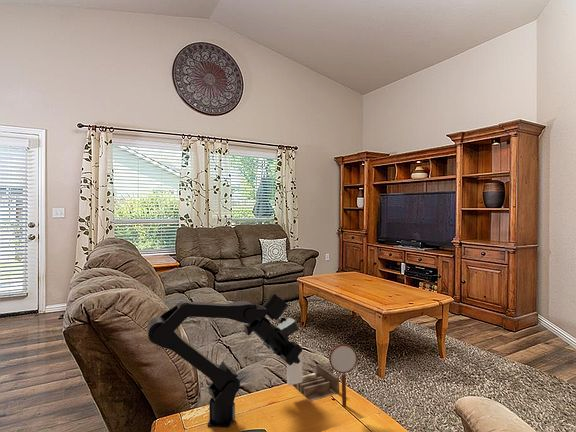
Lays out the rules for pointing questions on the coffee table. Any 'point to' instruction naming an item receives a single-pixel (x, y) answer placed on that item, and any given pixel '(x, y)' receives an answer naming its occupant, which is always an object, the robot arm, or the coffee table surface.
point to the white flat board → (295, 372)
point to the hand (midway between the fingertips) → (297, 361)
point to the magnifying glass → (343, 364)
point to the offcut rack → (318, 384)
